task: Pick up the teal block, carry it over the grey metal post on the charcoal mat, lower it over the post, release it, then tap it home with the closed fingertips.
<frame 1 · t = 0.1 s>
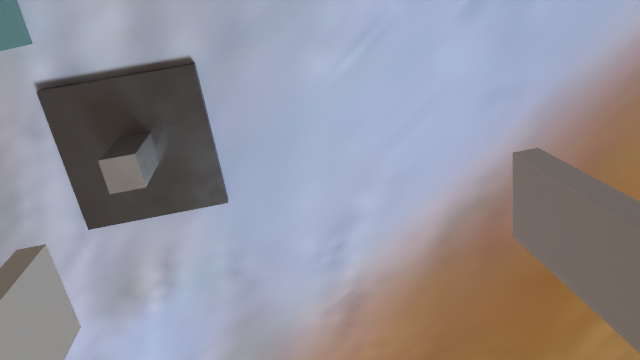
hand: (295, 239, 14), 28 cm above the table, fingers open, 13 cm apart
post: (140, 148, 40), on the table
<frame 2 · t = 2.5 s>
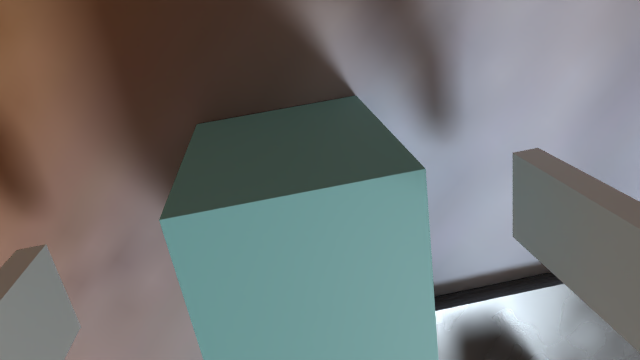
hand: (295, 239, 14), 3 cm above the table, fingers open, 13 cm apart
teal block: (291, 182, 16), on the table
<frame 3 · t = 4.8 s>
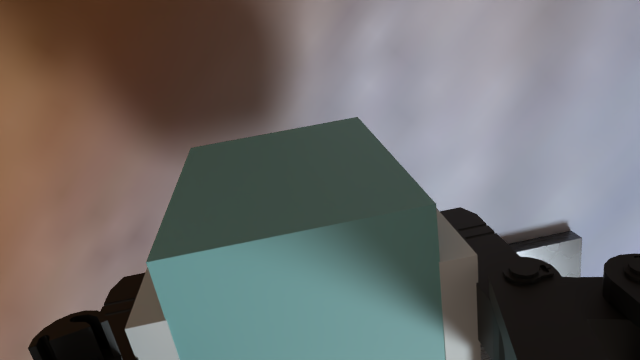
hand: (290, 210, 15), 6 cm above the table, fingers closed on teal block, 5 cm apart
teal block: (289, 208, 16), point 5 cm above the table, touching gripper
post: (463, 353, 26), on the table
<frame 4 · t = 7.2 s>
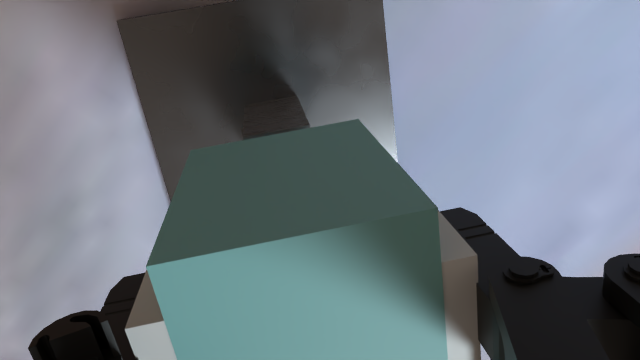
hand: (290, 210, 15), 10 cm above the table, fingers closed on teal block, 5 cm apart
teal block: (290, 210, 16), point 10 cm above the table, touching gripper
post: (274, 121, 25), on the table
when the fingers open (1 cm above the table, at t = 9.6 s): teal block stays where it is, resting on post.
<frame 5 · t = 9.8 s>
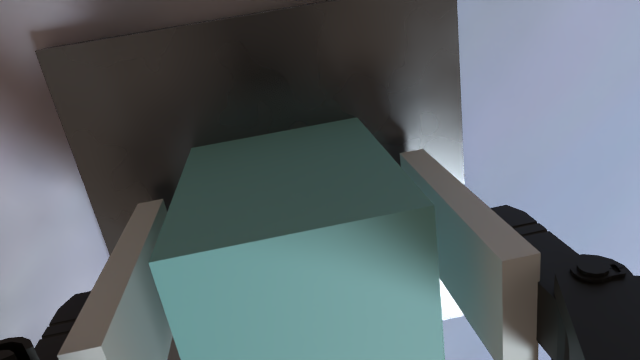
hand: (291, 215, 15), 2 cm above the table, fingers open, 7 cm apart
teal block: (289, 207, 16), point 1 cm above the table, touching post
post: (287, 195, 17), on the table
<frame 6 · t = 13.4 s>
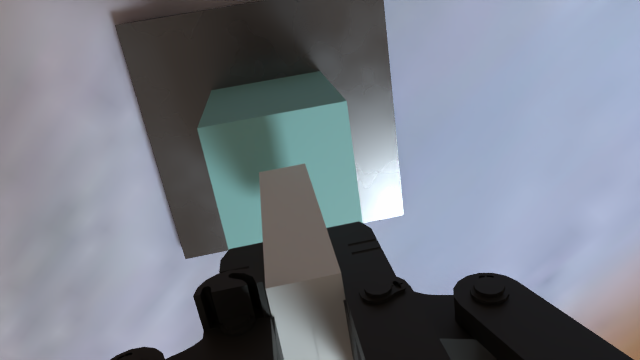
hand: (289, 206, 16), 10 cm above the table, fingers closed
teal block: (276, 132, 24), point 1 cm above the table, touching post
post: (275, 126, 24), on the table
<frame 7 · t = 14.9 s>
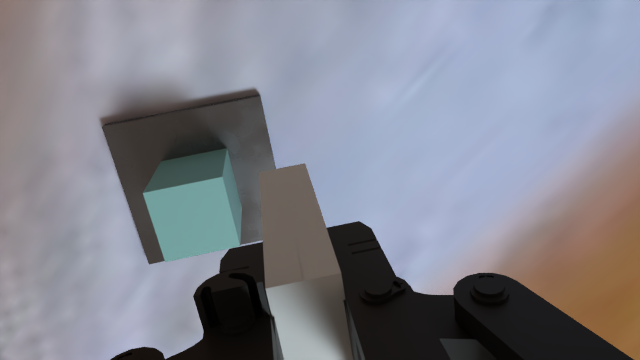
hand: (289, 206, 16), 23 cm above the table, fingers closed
teal block: (202, 185, 39), point 1 cm above the table, touching post
post: (203, 180, 39), on the table
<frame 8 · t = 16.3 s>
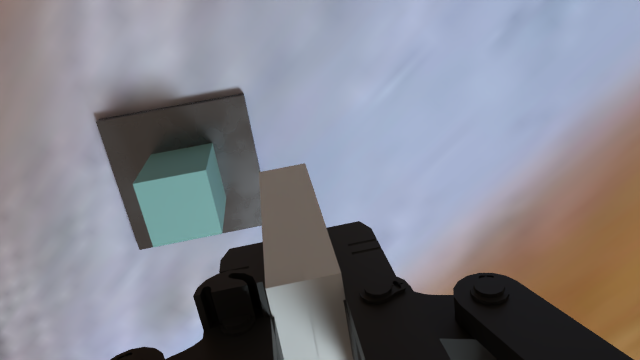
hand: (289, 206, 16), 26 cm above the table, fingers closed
teal block: (189, 176, 41), point 1 cm above the table, touching post
post: (190, 172, 42), on the table
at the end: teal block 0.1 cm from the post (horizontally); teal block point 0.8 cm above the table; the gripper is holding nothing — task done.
